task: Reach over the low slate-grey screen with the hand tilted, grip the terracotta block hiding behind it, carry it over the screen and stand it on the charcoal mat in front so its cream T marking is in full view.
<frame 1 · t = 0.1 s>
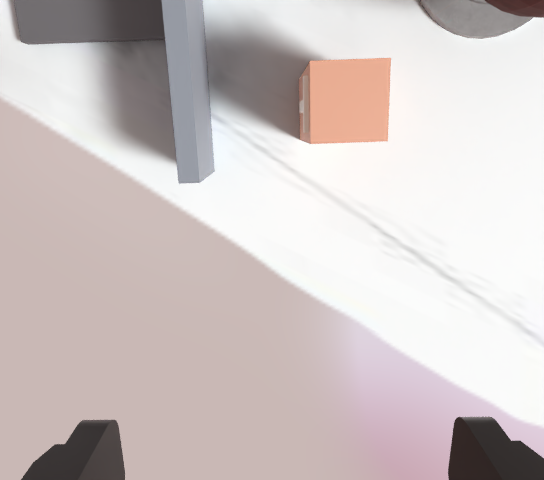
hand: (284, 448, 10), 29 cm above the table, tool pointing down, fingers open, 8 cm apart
slate screen: (198, 70, 35), on the table
terracotta block: (328, 109, 36), on the table
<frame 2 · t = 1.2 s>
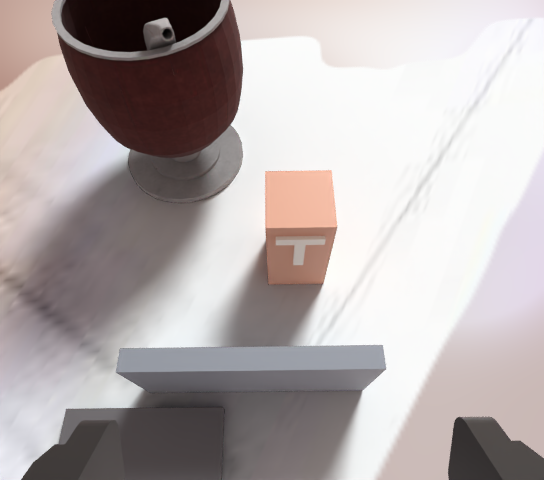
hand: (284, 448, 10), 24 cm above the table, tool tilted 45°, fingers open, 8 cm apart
slate screen: (256, 381, 33), on the table
mate gourd: (189, 162, 45), on the table
terracotta block: (294, 259, 38), on the table
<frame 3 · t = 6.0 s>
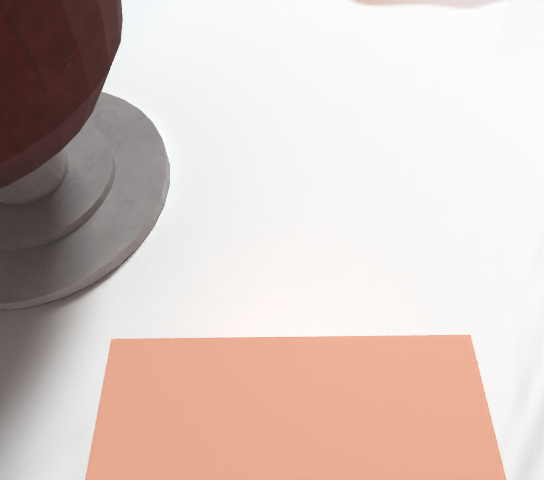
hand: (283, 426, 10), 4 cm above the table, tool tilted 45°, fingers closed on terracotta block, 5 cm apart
mate gourd: (46, 202, 19), on the table
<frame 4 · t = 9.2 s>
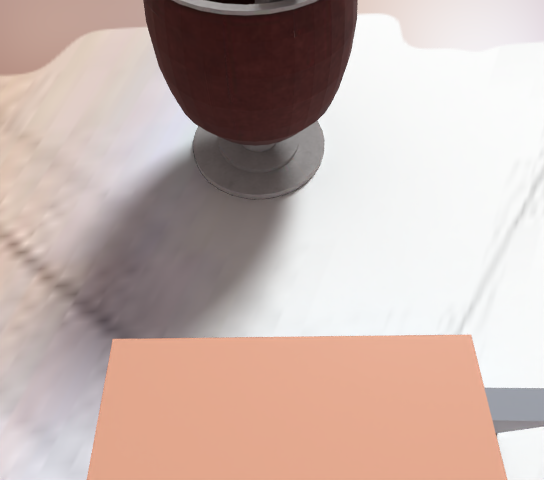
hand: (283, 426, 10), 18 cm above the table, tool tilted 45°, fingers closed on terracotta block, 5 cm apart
slate screen: (366, 418, 27), on the table
mate gourd: (262, 153, 39), on the table
when the fingers open (7 cm above the table, at t = 12.3 s): terracotta block drops 1 cm, resting on charcoal mat.
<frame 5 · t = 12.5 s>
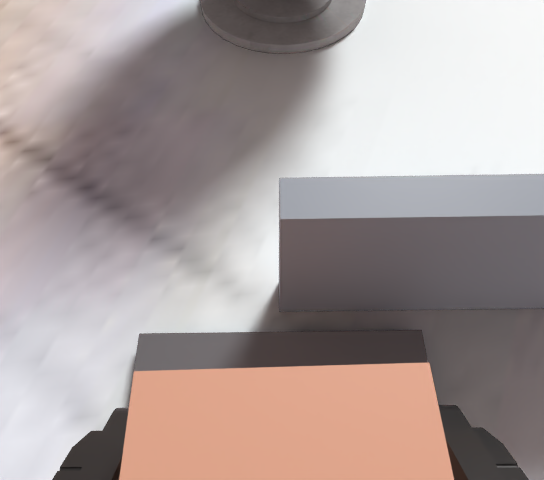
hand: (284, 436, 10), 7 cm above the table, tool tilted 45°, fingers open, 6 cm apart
slate screen: (460, 293, 19), on the table
mate gourd: (287, 9, 31), on the table
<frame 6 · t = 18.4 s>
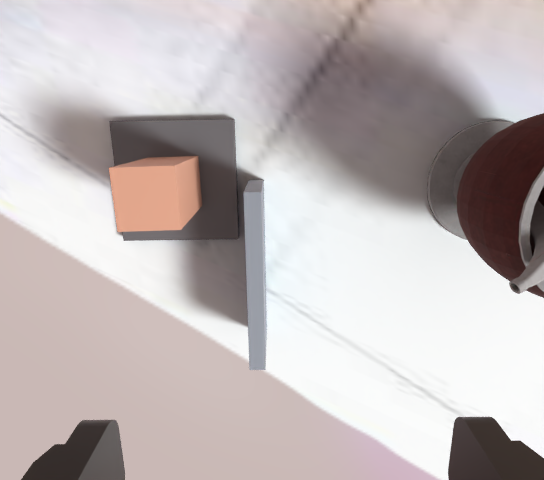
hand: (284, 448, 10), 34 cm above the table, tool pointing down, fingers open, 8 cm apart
charcoal mat: (178, 181, 42), on the table
slate screen: (258, 258, 44), on the table
mate gourd: (478, 185, 42), on the table
terracotta block: (175, 182, 41), point 1 cm above the table, touching charcoal mat
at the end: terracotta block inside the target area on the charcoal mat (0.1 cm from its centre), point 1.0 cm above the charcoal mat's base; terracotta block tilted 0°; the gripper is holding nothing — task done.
